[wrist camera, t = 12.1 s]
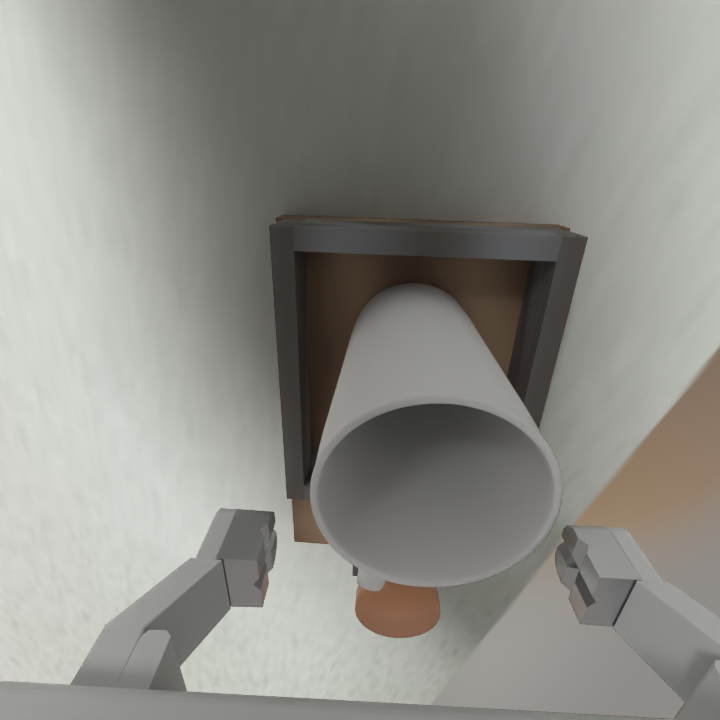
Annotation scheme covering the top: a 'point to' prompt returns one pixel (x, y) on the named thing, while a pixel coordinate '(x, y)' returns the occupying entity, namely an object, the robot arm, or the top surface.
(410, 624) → the click button
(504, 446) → the mug
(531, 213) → the top surface
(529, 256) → the board
